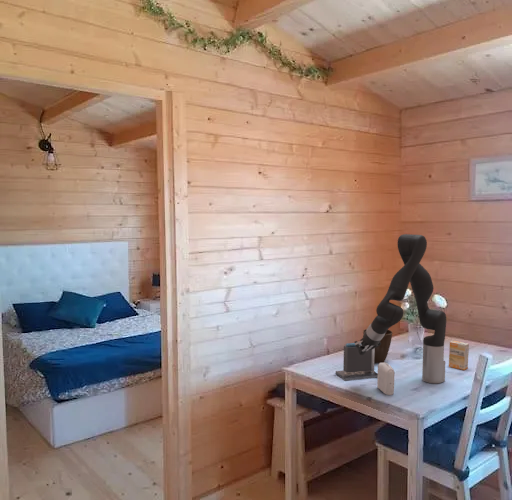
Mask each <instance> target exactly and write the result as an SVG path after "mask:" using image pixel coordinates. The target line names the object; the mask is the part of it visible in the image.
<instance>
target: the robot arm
mask: <svg viewBox="0 0 512 500" xmlns="http://www.w3.org/2000/svg"><path fill="white" fill-rule="evenodd" d="M427 246H428V242H427V238H426V237H425V236H424V235H422V234H410V233H404V234H400V236H399V237H398V239H397V250H398V254H399V255H400V258H401V260H402V263H403V264H404V265H403V266H402V267H401V268H400V269H399V270H398V271H397V272H396V273H395V274H394V275H393V276H392V279H391V280H390V284H389V287H388V289H387V292H386V294H385V295H384V297H383V298H382V300H381V301H380V302H379V303H378V305H377V307H376V309H375V311H376V316H375V317H374V319H372V322H371V323H370V324H369V325H368V326H367V328H366V329H367V330H366V331H365V333H364V334H363V335H362V337H361V339H360V340H359V341H357V340H355V341H354V342H353V343H355V345H356V348H357V349H358V350H359V354H360V355H364V354H365V352H366V351H368V350H369V349H370V350H372V349H374V348H376V347H378V346H380V345H381V343H380V341H381V339H382V338H383V337H384V335H385V333H386V331H387V330H389V329H390V328H391V327H393V326H395V325H397V324H398V323H399V322H400V321H401V320H402V319H403V316H404V310H403V308H402V307H401V306H399V305H397V304H395V303H392V302H390V301H397V302H401V301H403V300H404V299H405V297H406V293H407V290H408V288H409V285H410V287H411V290H412V293H413V295H414V299H415V303H416V308H417V313H418V319H419V322H420V325H421V327H422V328H424V329H426V330H431V331H434V334H432V335H426V336H424V337H423V340H422V370H421V371H422V373H421V375H422V376H421V379H422V382H425V383H430V384H442V383H443V382H446V361H445V360H444V359H445V356H444V355H445V340H446V332H447V331H446V330H447V315H446V313H445V311H443V310H437V309H436V310H435V309H430V307H429V305H428V304H429V303H428V302H429V300H430V299H431V296H433V295H432V294H433V292H434V288H435V287H434V283H433V279H432V277H431V274H430V273H429V271H428V270H427V269H426V268H425V267H424V266H423V265H422V264H421V262H422V261H421V260H422V259H423V257H424V255H425V253H426V251H427ZM360 344H362V345H361V346H360Z"/></svg>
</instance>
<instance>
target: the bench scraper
mask: <svg viewBox="0 0 512 500" xmlns="http://www.w3.org/2000/svg"><path fill="white" fill-rule="evenodd" d="M361 345H362V344H360V346H361ZM374 353H375V348H374V349H372V350H370V349H369V350H368V351H366V352H365V354H364V355H360V354H359V350H358V349H357V348H356V345H355V343H354V342H350V343H345V345H343V370H344V371H345V372H347V373H351V372H362V371H375V363H374ZM343 370H342V371H343Z"/></svg>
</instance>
